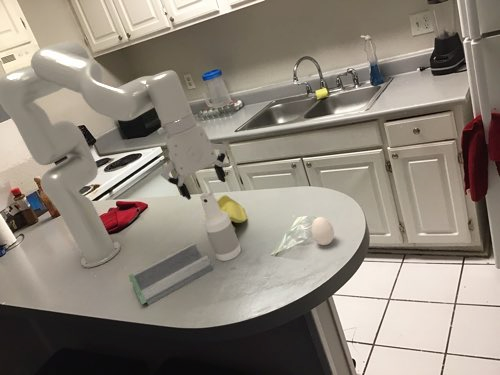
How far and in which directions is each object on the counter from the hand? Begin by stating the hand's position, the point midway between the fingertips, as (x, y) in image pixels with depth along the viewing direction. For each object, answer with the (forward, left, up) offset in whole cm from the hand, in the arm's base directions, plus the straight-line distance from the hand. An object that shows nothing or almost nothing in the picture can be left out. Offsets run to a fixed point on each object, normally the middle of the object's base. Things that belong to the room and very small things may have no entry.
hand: (205, 189), depth 107 cm
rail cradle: (-3, -15, -20) cm, 25 cm away
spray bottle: (0, 0, -20) cm, 20 cm away
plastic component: (-15, +6, -20) cm, 26 cm away
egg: (+18, +19, -20) cm, 32 cm away
